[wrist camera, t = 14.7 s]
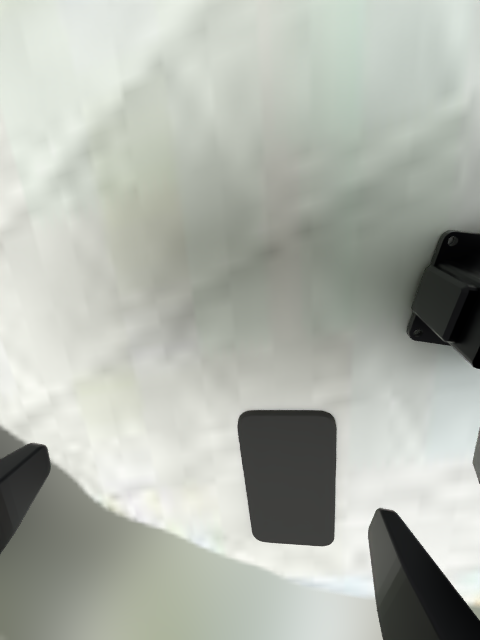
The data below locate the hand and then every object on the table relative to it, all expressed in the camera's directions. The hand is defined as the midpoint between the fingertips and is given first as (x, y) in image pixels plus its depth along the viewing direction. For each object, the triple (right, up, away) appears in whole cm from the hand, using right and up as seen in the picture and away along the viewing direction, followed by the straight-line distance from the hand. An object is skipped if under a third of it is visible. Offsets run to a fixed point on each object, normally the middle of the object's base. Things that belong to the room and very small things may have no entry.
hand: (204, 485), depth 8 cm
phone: (+5, -9, +18) cm, 21 cm away
